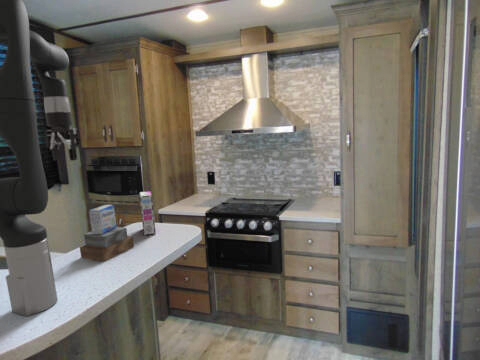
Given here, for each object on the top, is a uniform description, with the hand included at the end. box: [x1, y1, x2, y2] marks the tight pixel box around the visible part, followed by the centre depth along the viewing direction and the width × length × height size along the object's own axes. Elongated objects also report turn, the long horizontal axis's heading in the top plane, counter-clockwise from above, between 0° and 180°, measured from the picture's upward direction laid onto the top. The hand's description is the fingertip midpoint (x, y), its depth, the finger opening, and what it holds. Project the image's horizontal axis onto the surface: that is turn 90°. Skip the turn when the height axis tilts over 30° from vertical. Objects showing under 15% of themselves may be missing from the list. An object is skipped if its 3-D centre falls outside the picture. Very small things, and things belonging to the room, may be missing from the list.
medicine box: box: [88, 204, 117, 234], centre depth 121 cm, size 8×4×9 cm, turn 165°
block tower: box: [79, 226, 135, 262], centre depth 122 cm, size 14×11×8 cm
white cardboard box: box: [139, 190, 156, 237], centre depth 143 cm, size 11×5×16 cm, turn 17°
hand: (65, 160), depth 116 cm, fingers open, 8 cm apart
